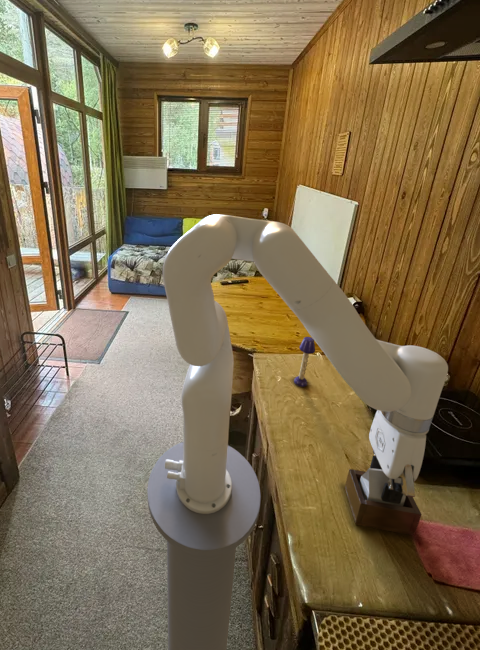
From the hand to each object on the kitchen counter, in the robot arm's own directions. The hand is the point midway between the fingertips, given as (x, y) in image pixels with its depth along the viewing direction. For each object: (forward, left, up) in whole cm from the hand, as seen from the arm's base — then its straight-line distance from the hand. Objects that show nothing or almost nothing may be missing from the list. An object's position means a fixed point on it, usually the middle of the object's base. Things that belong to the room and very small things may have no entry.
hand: (384, 485), depth 61 cm
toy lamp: (-9, +39, -7) cm, 41 cm away
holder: (0, 0, -7) cm, 7 cm away
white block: (0, 0, -6) cm, 6 cm away
